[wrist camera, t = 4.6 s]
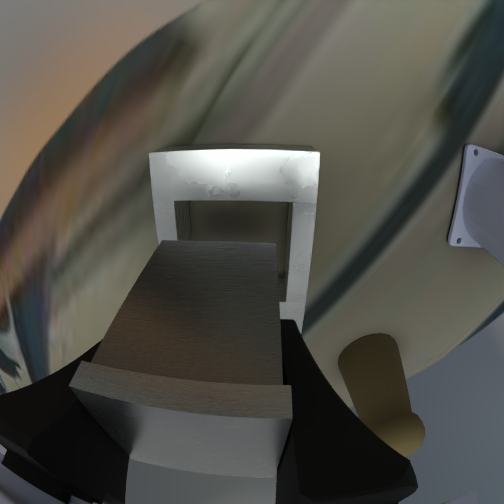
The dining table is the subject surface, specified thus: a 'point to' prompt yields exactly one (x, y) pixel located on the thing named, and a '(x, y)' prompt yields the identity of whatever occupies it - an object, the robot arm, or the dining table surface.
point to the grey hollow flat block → (243, 198)
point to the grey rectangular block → (196, 362)
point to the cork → (381, 391)
